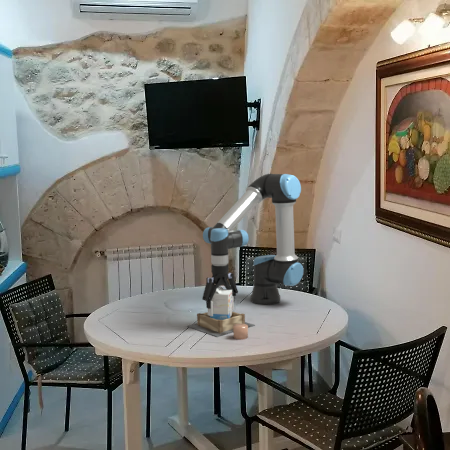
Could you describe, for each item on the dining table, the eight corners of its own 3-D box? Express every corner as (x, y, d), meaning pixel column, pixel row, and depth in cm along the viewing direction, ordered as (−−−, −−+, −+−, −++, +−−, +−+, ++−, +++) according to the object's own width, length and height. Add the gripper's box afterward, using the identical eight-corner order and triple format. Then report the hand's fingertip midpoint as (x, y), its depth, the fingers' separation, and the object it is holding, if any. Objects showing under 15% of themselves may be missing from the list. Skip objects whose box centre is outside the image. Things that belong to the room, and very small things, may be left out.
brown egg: (241, 334, 256) (240, 322, 255) (250, 337, 252) (250, 325, 251) (230, 337, 252) (230, 325, 251) (240, 340, 248) (240, 328, 247)
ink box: (228, 320, 262) (228, 290, 259) (209, 319, 263) (209, 289, 261) (232, 314, 270) (232, 285, 268) (213, 313, 272) (214, 284, 269)
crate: (224, 316, 282) (224, 304, 281) (254, 325, 267) (254, 313, 266) (187, 326, 267) (187, 314, 267) (217, 337, 253) (216, 324, 252)
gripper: (234, 258, 274) (235, 305, 277) (193, 267, 258) (194, 316, 261) (245, 261, 268) (246, 308, 271) (204, 269, 253) (205, 320, 256)
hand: (220, 312), depth 266 cm, fingers closed on ink box, 11 cm apart
